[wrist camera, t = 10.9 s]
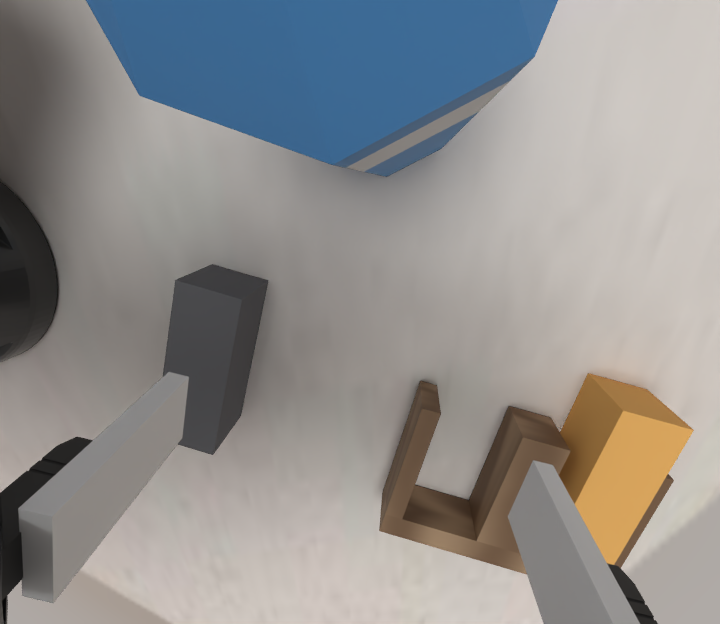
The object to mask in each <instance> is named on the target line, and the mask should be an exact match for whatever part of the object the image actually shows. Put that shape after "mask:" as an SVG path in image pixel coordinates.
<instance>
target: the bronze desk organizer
mask: <svg viewBox="0 0 720 624" xmlns="http://www.w3.org/2000/svg"><path fill="white" fill-rule="evenodd" d="M440 415H441V411H440V404H439V397H438V390H437V385H433V384H430V383H426V382H423V381H420V383H419V386H418V389H417V392H416V395H415V398H414V401H413V404H412V407H411V410H410V413H409V416H408V419H407V422H406V425H405V428H404V430H403V433H402V436H401V439H400V442H399V445H398V448H397V451H396V454H395V457H394V460H393V463H392V466H391V469H390V472H389V475H388V478H387V481H386V484H385V487H384V490H383V493H382V505H381V517H380V529H379V531H381V532H385V533H388V534H392V535H395V536H398V537H402V538H405V539H409V540H412V541H415V542H419V543H422V544H426V545H429V546H432V547H436V548H439V549H442V550H446V551H449V552H453V553H456V554H459V555H463V556H466V557H470V558H473V559H476V560H480V561H483V562H487V563H490V564H493V565H497V566H500V567H504V568H507V569H510V570H514V571H517V572H521V573H524V574H527V572H526V569H525V566H524V563H523V560H522V557H521V554H520V552H519V549H518V546H517V543H516V540H515V537H514V534H513V531H512V528H511V525H510V522H509V519H508V515H509V513H510V510H511V508H512V506H513V504H514V502H515V499H516V497H517V495H518V493H519V490H520V488H521V486H522V484H523V482H524V479H525V477H526V475H527V473H528V470H529V468H530V466H531V464H532V462H533V460H534V461H538V462H542V463H546V464H551V465H553V466H554V468H555V470H556V471H557V473H558V475H559V474H560V472H561V470H562V468H563V466H564V464H565V462H566V460H567V458H568V456H569V454H570V452H571V450H570V449H569V447H568V445H567V444H566V442H565V440H564V439H563V437H562V436H561V434H560V432H559V431H558V429H557V427H556V426H555V424H554V422H553V421H552V419H551V418H550V417H546V416H543V415H539V414H536V413H532V412H529V411H525V410H521V409H518V408H514V407H511V406H509V407H508V409H507V412H506V414H505V416H504V419H503V421H502V423H501V426H500V428H499V431H498V433H497V435H496V438H495V440H494V442H493V445H492V447H491V449H490V452H489V454H488V457H487V459H486V461H485V464H484V466H483V468H482V471H481V473H480V475H479V478H478V480H477V483H476V485H475V487H474V490H473V492H472V494H471V497H470V499H469V500H465V499H462V498H458V497H455V496H451V495H448V494H444V493H441V492H438V491H434V490H431V489H427V488H424V487H420V486H417V485H415V483H416V480H417V477H418V475H419V472H420V469H421V467H422V464H423V461H424V458H425V456H426V453H427V450H428V447H429V445H430V442H431V439H432V437H433V434H434V431H435V428H436V426H437V423H438V420H439V417H440ZM673 481H674V480H673V479H672V478H671V477H670V475H669V474H668V475H667V476H666V478H665V480H664V481H663V483H662V485H661V486H660V488H659V490H658V492H657V493H656V495H655V497H654V498H653V500H652V502H651V503H650V505H649V507H648V508H647V510H646V512H645V513H644V515H643V517H642V519H641V520H640V522H639V524H638V525H637V527H636V529H635V530H634V532H633V534H632V535H631V537H630V539H629V541H628V542H627V544H626V546H625V547H624V549H623V551H622V552H621V554H620V556H619V557H618V559H617V561H616V562H615V564H614V565H616V566H619V567H620V568H621V567H622V565H623V563H624V562H625V560H626V558H627V557H628V555H629V553H630V552H631V550H632V549H633V547H634V545H635V544H636V542H637V540H638V539H639V537H640V535H641V534H642V532H643V530H644V529H645V527H646V525H647V524H648V522H649V521H650V519H651V517H652V516H653V514H654V512H655V511H656V509H657V507H658V506H659V504H660V502H661V501H662V499H663V497H664V496H665V494H666V493H667V491H668V489H669V488H670V486H671V484H672V483H673Z"/></svg>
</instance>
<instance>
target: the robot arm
mask: <svg viewBox="0 0 720 624" xmlns="http://www.w3.org/2000/svg"><path fill="white" fill-rule="evenodd" d="M56 300H57V279H56V272H55V267H54V262H53V259H52V255H51V252H50V249H49V247H48V244H47V242H46V239H45V237H44V235H43V233H42V231H41V229H40V228H39V226H38V224H37V223H36V221H35V219H34V218H33V216H32V215H31V213H30V212H29V211H28V209H27V208H26V207H25V206H24V204H23V203H22V202H21V201H20V200H19V199H18V198H17V197H16V195H15V194H14V193H13V192H12V191H11V190H9V189H8V188H7V187H6V186H5V185H4V184H3V183H1V182H0V362H3V361H5V360H7V359H9V358H12V357H14V356H16V355H18V354H21V353H23V352H25V351H26V350H28V349H29V348H31V347H32V346H33V345H34V344H36V343H37V342H38V341H39V340H40V338H41V337H42V336H43V335H44V333H45V332H46V330H47V328H48V327H49V325H50V322H51V320H52V317H53V314H54V311H55V306H56ZM188 381H189V377H188V376H184V375H180V374H176V373H171V372H168V373H167V374H166V375H165V376H164V377H163V378H161V379H160V380H159V381H158V382H157V383H156V384H155V385H154V386H153V387H152V388H150V389H149V390H148V391H147V392H146V393H145V394H144V395H143V396H142V397H141V398H139V399H138V400H137V401H136V402H135V403H134V404H133V405H132V406H131V407H129V408H128V409H127V410H126V411H125V412H124V413H123V414H122V415H121V416H120V417H118V418H117V419H116V420H115V421H114V422H113V423H112V424H111V425H110V426H109V427H107V428H106V429H105V430H104V431H103V432H102V433H101V434H100V435H99V436H98V437H96V438H95V439H94V440H88V439H84V438H80V437H75V438H73V439H71V440H69V441H67V442H64V443H62V444H60V445H58V446H56V447H55V448H54V449H53V450H52V451H50V452H49V453H48V454H47V455H45V456H44V457H43V458H42V460H41V461H38V462H37V463H36V464H35V465H33V466H32V467H31V468H30V470H29V471H26V472H25V473H24V474H22V475H21V476H20V477H19V478H18V479H16V480H15V481H14V482H13V483H12V484H10V485H9V486H8V487H7V488H6V489H4V490H3V491H2V492H1V493H0V624H7V609H8V608H7V607H8V600H7V595H8V594H9V593H10V592H11V591H12V589H13V588H14V587H15V586H16V585H17V584H18V583H19V582H20V580H21V579H22V595H23V596H25V597H29V598H34V599H37V600H42V601H46V602H50V603H54V602H55V601H56V599H57V598H58V597H59V596H60V594H61V593H62V592H63V590H64V589H65V588H66V587H67V585H68V584H69V583H70V581H71V580H72V579H73V577H74V576H75V575H76V574H77V572H78V571H79V570H80V569H81V567H82V566H83V565H84V564H85V562H86V561H87V560H88V558H89V557H90V556H91V555H92V553H93V552H94V551H95V549H96V548H97V547H98V546H99V544H100V543H101V542H102V540H103V539H104V538H105V537H106V535H107V534H108V533H109V531H110V530H111V529H112V528H113V526H114V525H115V524H116V522H117V521H118V520H119V519H120V517H121V516H122V515H123V513H124V512H125V511H126V510H127V508H128V507H129V506H130V504H131V503H132V502H133V501H134V499H135V498H136V497H137V495H138V494H139V493H140V492H141V490H142V489H143V488H144V486H145V485H146V484H147V483H148V481H149V480H150V479H151V477H152V476H153V475H154V474H155V472H156V471H157V470H158V469H159V467H160V466H161V465H162V463H163V462H164V461H165V460H166V458H167V457H168V456H169V454H170V453H171V452H172V451H173V449H174V448H175V447H176V445H177V444H178V443H179V442H180V440H181V439H182V436H183V427H184V418H185V409H186V399H187V390H188ZM508 519H509V522H510V525H511V528H512V531H513V534H514V537H515V540H516V543H517V546H518V549H519V552H520V554H521V557H522V560H523V563H524V566H525V569H526V572H527V575H528V578H529V581H530V584H531V587H532V590H533V593H534V596H535V599H536V602H537V605H538V608H539V611H540V614H541V617H542V620H543V623H544V624H657V622H656V621H655V620H654V619H653V617H654V616H653V615H652V613H651V611H650V610H649V608H648V606H647V605H645V601H644V599H643V598H642V596H641V594H640V593H639V591H638V589H637V588H636V586H635V584H634V583H633V582H632V581H631V579H630V578H629V577H628V576H627V575H626V574H625V573H624V572H623V571H622V570H621V568H620V567H619V566H616V565H612V564H608V563H606V561H605V559H604V557H603V555H602V553H601V552H600V550H599V548H598V546H597V544H596V543H595V541H594V539H593V537H592V535H591V533H590V532H589V530H588V528H587V526H586V524H585V522H584V521H583V519H582V517H581V515H580V513H579V512H578V510H577V508H576V506H575V504H574V502H573V501H572V499H571V497H570V495H569V493H568V491H567V490H566V488H565V486H564V484H563V482H562V481H561V479H560V477H559V475H558V473H557V471H556V470H555V468H554V466H553V465H551V464H546V463H542V462H538V461H534V460H533V462H532V464H531V466H530V468H529V470H528V473H527V475H526V477H525V479H524V482H523V484H522V486H521V488H520V490H519V493H518V495H517V497H516V499H515V502H514V504H513V506H512V508H511V510H510V513H509V515H508Z"/></svg>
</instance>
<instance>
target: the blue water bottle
mask: <svg viewBox="0 0 720 624" xmlns="http://www.w3.org/2000/svg"><path fill="white" fill-rule="evenodd" d="M86 1H87V3H88V5H89V7H90V8H91V10H92V12H93V14H94V15H95V17H96V19H97V21H98V23H99V24H100V26H101V28H102V30H103V31H104V33H105V35H106V37H107V39H108V40H109V42H110V44H111V46H112V47H113V49H114V51H115V53H116V55H117V56H118V58H119V60H120V62H121V63H122V65H123V67H124V69H125V71H126V72H127V74H128V76H129V78H130V79H131V81H132V83H133V85H134V87H135V88H136V90H137V92H138V94H139V95H140V96H142V97H145V98H148V99H150V100H153V101H156V102H159V103H162V104H164V105H167V106H170V107H173V108H175V109H178V110H181V111H184V112H187V113H189V114H192V115H195V116H198V117H200V118H203V119H206V120H209V121H212V122H214V123H217V124H220V125H223V126H226V127H228V128H231V129H234V130H237V131H239V132H242V133H245V134H248V135H251V136H253V137H256V138H259V139H262V140H264V141H267V142H270V143H273V144H276V145H278V146H281V147H284V148H287V149H290V150H292V151H295V152H298V153H301V154H303V155H306V156H309V157H312V158H315V159H317V160H320V161H323V162H326V163H328V164H331V165H335V166H340V167H344V168H349V169H354V170H358V171H363V172H367V173H372V174H377V175H381V176H386V177H387V176H389V175H391V174H393V173H395V172H397V171H399V170H401V169H403V168H405V167H406V166H408V165H410V164H412V163H414V162H416V161H418V160H420V159H422V158H424V157H426V156H428V155H430V154H432V153H434V152H436V151H438V150H440V149H441V148H442V147H443V146H444V145H445V144H446V143H447V142H448V141H450V140H451V139H452V138H453V137H454V136H455V135H456V134H457V133H458V132H459V131H460V130H461V129H462V128H463V127H464V126H465V125H466V124H467V123H468V122H469V121H470V120H471V119H472V118H473V117H474V116H475V115H476V114H477V113H478V112H479V111H480V110H481V109H482V108H483V107H484V106H485V105H486V104H487V103H488V102H489V101H490V100H491V99H492V98H493V97H494V96H495V95H496V94H497V93H498V92H499V91H500V90H501V89H502V88H503V87H504V86H505V85H506V84H507V83H508V82H509V81H510V80H511V79H512V78H513V77H514V76H515V75H516V74H517V73H518V72H519V71H520V70H521V69H522V68H523V67H525V66H526V65H527V64H528V63H529V62H530V61H531V60H532V59H533V58H534V57H535V54H536V52H537V50H538V47H539V45H540V42H541V40H542V37H543V35H544V33H545V30H546V28H547V25H548V23H549V21H550V18H551V16H552V13H553V11H554V9H555V6H556V4H557V1H558V0H86Z"/></svg>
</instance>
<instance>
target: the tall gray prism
mask: <svg viewBox="0 0 720 624" xmlns="http://www.w3.org/2000/svg"><path fill="white" fill-rule="evenodd" d="M267 285H268V280H264V279H261V278H257V277H254V276H250V275H247V274H244V273H240V272H237V271H233V270H230V269H226V268H223V267H220V266H216V265H213V264H212V265H210V266H208V267H205V268H203V269H200V270H198V271H196V272H193V273H191V274H189V275H186V276H184V277H182V278H179V279H177V280H175V288H174V296H173V303H172V311H171V318H170V326H169V334H168V341H167V349H166V356H165V364H164V372H163V377H164V376H165V375H166V374H167V373H168V372H171V373H176V374H180V375H184V376H188V377H189V381H188V390H187V399H186V409H185V418H184V427H183V436H182V439H181V440H180V442H179V443H178V445H182V446H185V447H188V448H192V449H195V450H198V451H202V452H205V453H208V454H212V455H213V454H214V453H215V451H216V450H217V449H218V447H219V446H220V444H221V443H222V442H223V440H224V439H225V437H226V436H227V435H228V433H229V432H230V430H231V429H232V427H233V426H234V425H235V423H236V422H237V420H238V419H239V418H240V416H241V412H242V407H243V402H244V397H245V393H246V388H247V383H248V378H249V373H250V368H251V363H252V358H253V353H254V349H255V344H256V339H257V334H258V329H259V324H260V319H261V314H262V310H263V305H264V300H265V295H266V290H267Z"/></svg>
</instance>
